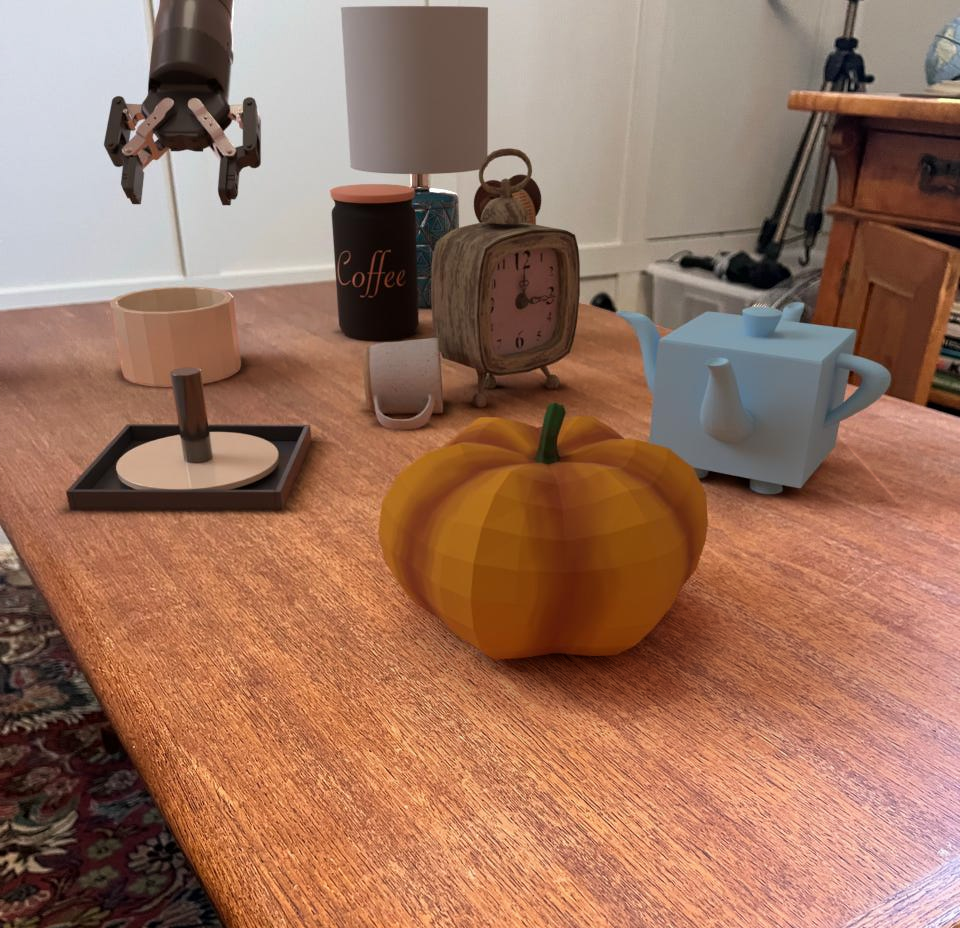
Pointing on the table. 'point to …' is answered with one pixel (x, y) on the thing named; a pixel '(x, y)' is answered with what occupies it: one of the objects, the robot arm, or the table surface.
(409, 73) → the lamp
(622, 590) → the decorative pumpkin
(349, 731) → the table surface
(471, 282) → the tabletop clock
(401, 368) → the ceramic mug
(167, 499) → the tray
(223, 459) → the lid
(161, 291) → the canister
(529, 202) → the dark rounded piece
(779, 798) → the table surface
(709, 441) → the teakettle
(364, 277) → the coffee jar
